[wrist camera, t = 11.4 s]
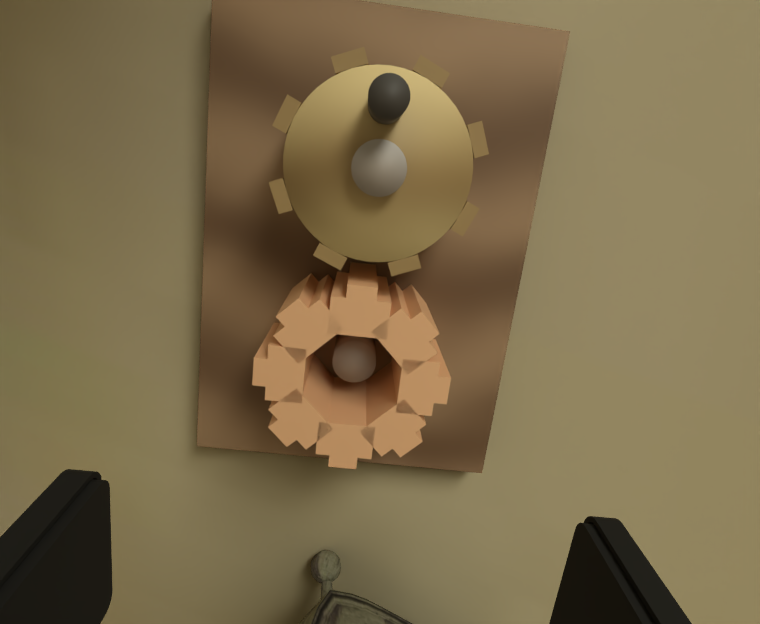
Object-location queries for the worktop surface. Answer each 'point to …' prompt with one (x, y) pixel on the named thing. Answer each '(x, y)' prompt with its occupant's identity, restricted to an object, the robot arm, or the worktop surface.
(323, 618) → the tabletop clock
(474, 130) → the gear board
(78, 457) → the worktop surface
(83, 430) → the worktop surface
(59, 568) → the robot arm
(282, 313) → the terracotta gear
